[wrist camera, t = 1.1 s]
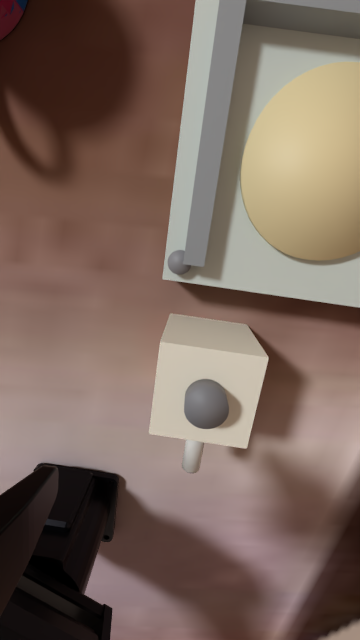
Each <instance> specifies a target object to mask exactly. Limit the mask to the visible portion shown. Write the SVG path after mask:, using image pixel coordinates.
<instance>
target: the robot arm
mask: <svg viewBox="0 0 360 640" xmlns="http://www.w3.org/2000/svg"><path fill="white" fill-rule="evenodd" d="M111 481H113V482H111ZM118 484H119V478H118V477H117V476H116V475H114V474H108V473H102V472H95V471H89V470H83V469H76V468H70V467H63V466H57V465H50V464H44V463H40V464H38V465H37V466H36V468H35V469H34V472H33V473H31V474H30V475H28V476H27V477H25V478H24V479H23V480H21V481H20V482H18V483H17V484H15V485H14V486H13V487H11V488H10V489H8V490H7V491H5V492H4V493H3V494H1V495H0V640H110V632H111V619H112V608H111V607H109V606H107V605H106V604H104V605H102V604H100V603H98V602H96V601H94V600H93V599H91V598H89V597H87V596H86V595H84V593H85V590H86V587H87V584H88V581H89V578H90V574H91V571H92V568H93V565H94V562H95V559H96V555H97V552H98V549H99V546H100V543H101V541H103V542H110V541H111V540H112V538H113V534H114V526H115V515H116V505H117V495H118Z"/></svg>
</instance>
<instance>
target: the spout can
mask: <svg viewBox="0 0 360 640" xmlns="http://www.w3.org/2000/svg"><path fill="white" fill-rule="evenodd" d="M268 359H269V357H268V356H267V354H266V353H265V351H264V350H263V348H262V347H261V345H260V344H259V342H258V341H257V339H256V338H255V336H254V335H253V333H252V331H251V330H250V328H249V327H248V325H247V324H240V323H233V322H227V321H220V320H213V319H206V318H199V317H192V316H185V315H179V314H172V313H170V316H169V319H168V321H167V324H166V327H165V330H164V333H163V335H162V338H161V341H160V347H159V355H158V363H157V371H156V379H155V387H154V395H153V403H152V411H151V419H150V427H149V434H153V435H159V436H166V437H173V438H179V439H186V443H185V449H184V455H183V461H182V468H183V469H184V470H185V471H186V472H188V473H196V472H198V470H199V468H200V462H201V457H202V452H203V447H204V442H205V443H212V444H219V445H225V446H232V447H238V448H245V449H247V446H248V442H249V437H250V433H251V429H252V425H253V421H254V417H255V413H256V409H257V404H258V400H259V396H260V392H261V388H262V384H263V380H264V376H265V372H266V367H267V363H268Z"/></svg>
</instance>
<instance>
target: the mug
mask: <svg viewBox="0 0 360 640" xmlns="http://www.w3.org/2000/svg"><path fill="white" fill-rule="evenodd" d="M27 1H28V0H0V40H1V39H2V38H4V37H5V36H6V35H8V34H9V33H10V32H11V31H12V30H13V28H14V27H15V26H16V25H17V23H18V22H19V20H20V18H21V16H22V15H23V12H24V10H25V7H26V4H27Z"/></svg>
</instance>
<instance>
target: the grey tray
mask: <svg viewBox="0 0 360 640" xmlns="http://www.w3.org/2000/svg"><path fill="white" fill-rule="evenodd" d="M162 279H165V280H172V281H179V282H186V283H193V284H200V285H207V286H214V287H221V288H228V289H235V290H242V291H248V292H255V293H262V294H269V295H276V296H283V297H290V298H297V299H304V300H311V301H318V302H324V303H331V304H338V305H345V306H352V307H359V308H360V0H196V3H195V12H194V20H193V28H192V37H191V45H190V53H189V62H188V70H187V78H186V87H185V95H184V103H183V112H182V120H181V128H180V137H179V145H178V153H177V162H176V170H175V178H174V187H173V195H172V203H171V212H170V220H169V228H168V237H167V245H166V253H165V262H164V270H163V278H162Z"/></svg>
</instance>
